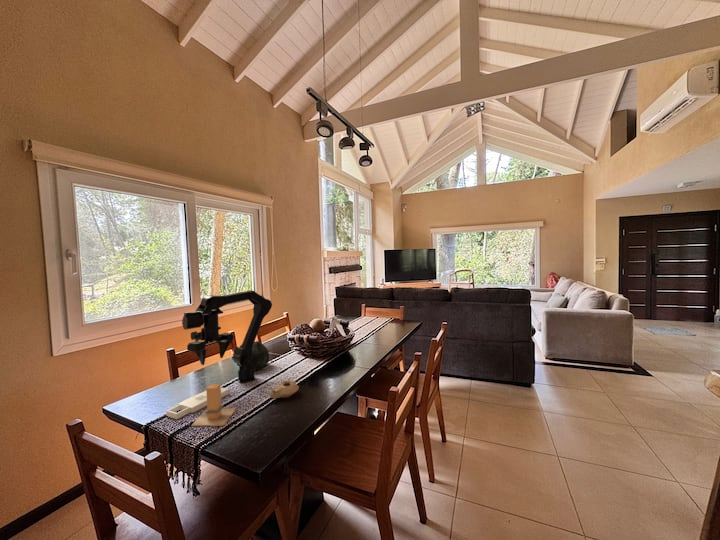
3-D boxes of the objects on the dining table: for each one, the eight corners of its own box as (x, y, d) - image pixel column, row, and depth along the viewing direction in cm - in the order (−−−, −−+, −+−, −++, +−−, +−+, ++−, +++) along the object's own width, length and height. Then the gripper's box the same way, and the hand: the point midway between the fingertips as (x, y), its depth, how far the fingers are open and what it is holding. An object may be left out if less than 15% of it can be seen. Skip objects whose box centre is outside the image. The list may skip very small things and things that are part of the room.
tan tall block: (211, 413, 108) (210, 383, 107) (223, 412, 108) (222, 383, 107) (205, 419, 103) (204, 389, 103) (218, 419, 103) (217, 388, 103)
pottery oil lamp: (263, 398, 118) (265, 380, 122) (289, 399, 126) (291, 382, 129) (274, 397, 113) (276, 378, 116) (301, 398, 120) (302, 380, 123)
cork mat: (206, 410, 111) (206, 409, 111) (236, 409, 111) (236, 407, 111) (191, 426, 100) (190, 425, 100) (223, 425, 100) (223, 424, 100)
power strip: (215, 390, 127) (215, 384, 127) (229, 393, 124) (228, 387, 124) (164, 415, 108) (164, 408, 107) (178, 420, 104) (178, 412, 104)
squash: (234, 355, 157) (239, 338, 149) (262, 351, 166) (268, 334, 157) (239, 379, 148) (244, 363, 140) (268, 373, 157) (275, 357, 149)
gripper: (216, 319, 138) (217, 352, 138) (177, 328, 121) (178, 366, 121) (233, 321, 133) (235, 355, 134) (196, 330, 116) (197, 369, 117)
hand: (212, 361), depth 127 cm, fingers open, 9 cm apart
